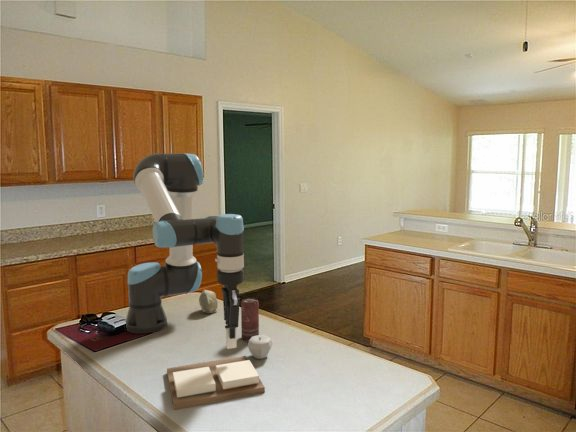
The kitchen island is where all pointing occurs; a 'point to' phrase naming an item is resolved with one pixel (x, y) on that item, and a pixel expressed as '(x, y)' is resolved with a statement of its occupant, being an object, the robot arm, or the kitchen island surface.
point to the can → (249, 318)
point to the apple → (259, 346)
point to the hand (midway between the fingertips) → (231, 347)
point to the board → (220, 392)
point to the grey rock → (208, 301)
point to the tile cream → (237, 374)
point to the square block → (193, 382)
